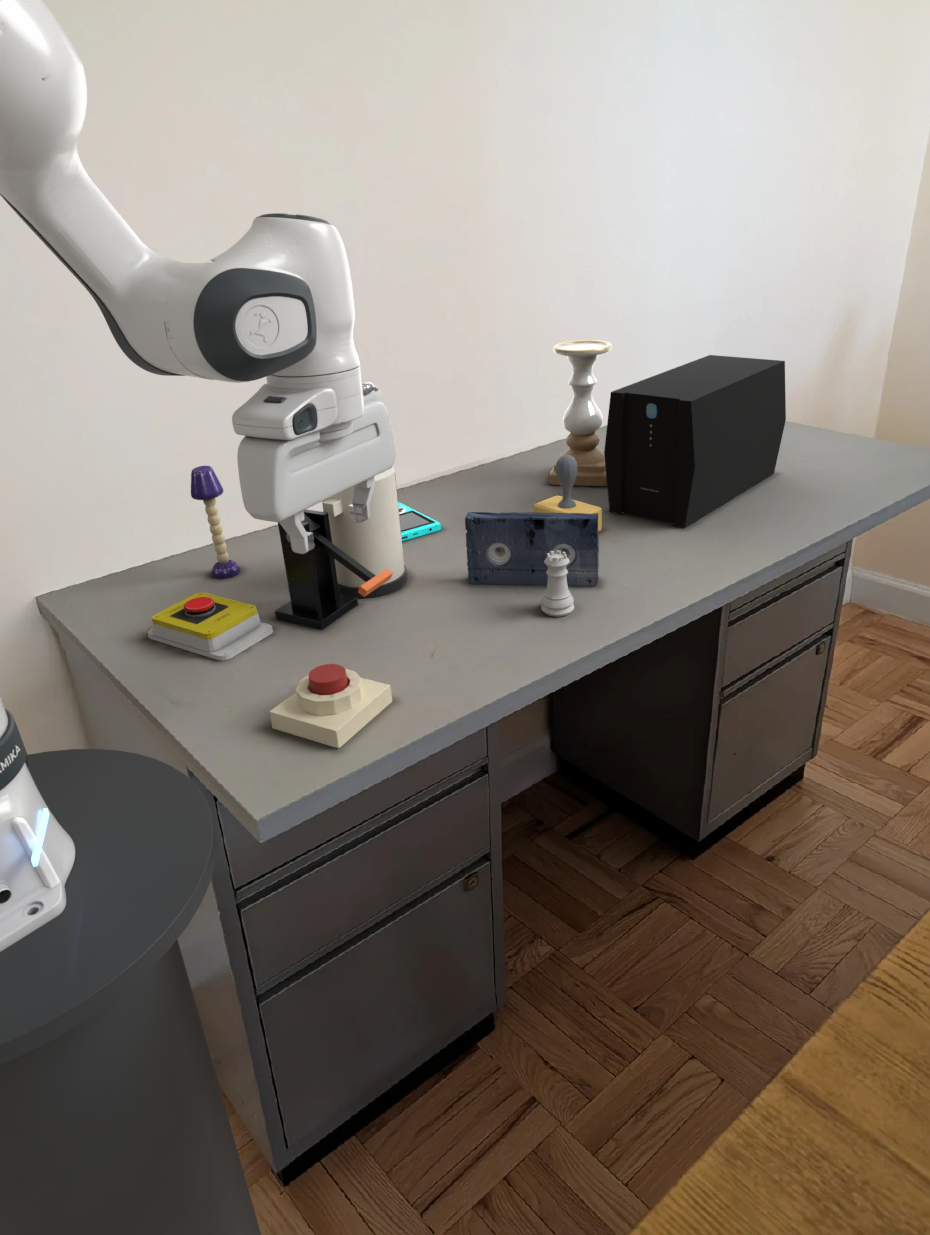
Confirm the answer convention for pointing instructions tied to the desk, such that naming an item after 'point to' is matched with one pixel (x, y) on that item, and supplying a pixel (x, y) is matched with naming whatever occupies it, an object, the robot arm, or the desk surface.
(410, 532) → the handheld game console
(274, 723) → the button block
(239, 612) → the emergency button
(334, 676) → the button
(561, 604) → the rook chess piece
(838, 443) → the desk surface
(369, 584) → the power lever
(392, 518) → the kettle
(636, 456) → the uninterruptible power supply
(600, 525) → the rubber stamp
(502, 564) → the vhs cassette tape
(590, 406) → the candle holder
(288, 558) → the switch bracket
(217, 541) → the toy lamp
